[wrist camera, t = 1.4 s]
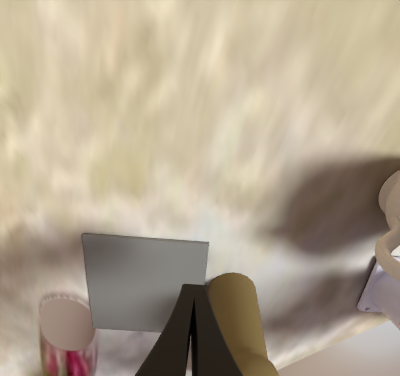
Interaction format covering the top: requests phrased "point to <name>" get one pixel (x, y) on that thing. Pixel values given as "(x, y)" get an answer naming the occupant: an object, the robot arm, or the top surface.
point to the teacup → (396, 218)
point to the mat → (139, 278)
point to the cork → (241, 323)
